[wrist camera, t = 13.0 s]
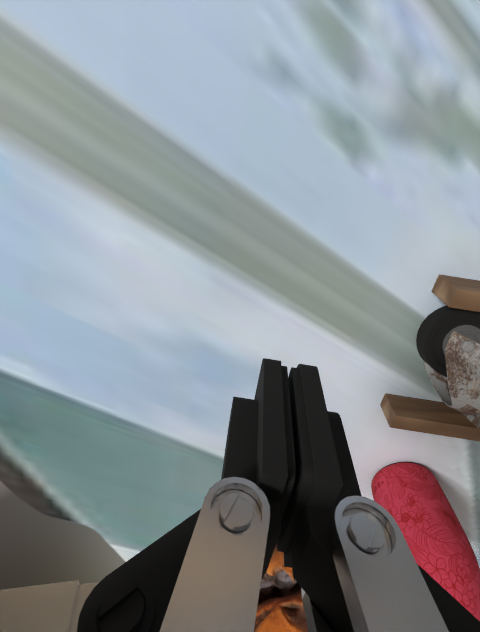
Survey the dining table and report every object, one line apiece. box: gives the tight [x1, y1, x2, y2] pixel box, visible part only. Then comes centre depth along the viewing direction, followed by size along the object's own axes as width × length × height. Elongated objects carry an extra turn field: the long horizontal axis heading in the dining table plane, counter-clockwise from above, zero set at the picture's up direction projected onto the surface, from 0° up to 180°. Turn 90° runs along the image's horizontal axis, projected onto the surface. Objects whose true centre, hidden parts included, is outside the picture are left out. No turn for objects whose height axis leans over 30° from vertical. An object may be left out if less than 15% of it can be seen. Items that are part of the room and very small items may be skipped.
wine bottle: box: [371, 462, 480, 621], centre depth 38 cm, size 10×10×30 cm
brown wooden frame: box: [380, 275, 480, 441], centre depth 38 cm, size 19×14×6 cm
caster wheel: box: [416, 306, 480, 428], centre depth 37 cm, size 7×11×10 cm
